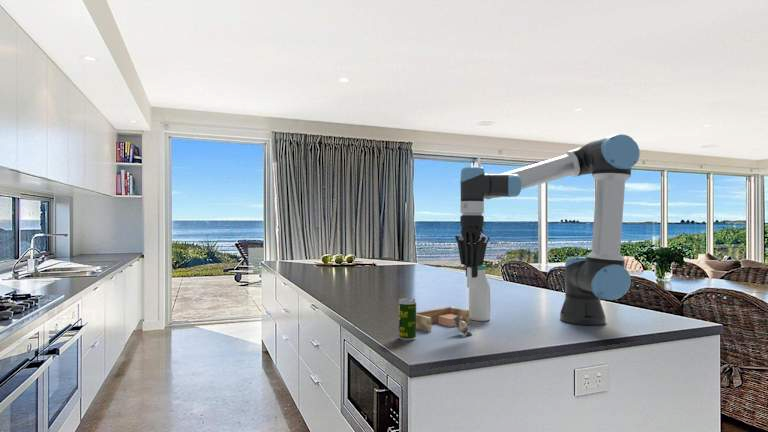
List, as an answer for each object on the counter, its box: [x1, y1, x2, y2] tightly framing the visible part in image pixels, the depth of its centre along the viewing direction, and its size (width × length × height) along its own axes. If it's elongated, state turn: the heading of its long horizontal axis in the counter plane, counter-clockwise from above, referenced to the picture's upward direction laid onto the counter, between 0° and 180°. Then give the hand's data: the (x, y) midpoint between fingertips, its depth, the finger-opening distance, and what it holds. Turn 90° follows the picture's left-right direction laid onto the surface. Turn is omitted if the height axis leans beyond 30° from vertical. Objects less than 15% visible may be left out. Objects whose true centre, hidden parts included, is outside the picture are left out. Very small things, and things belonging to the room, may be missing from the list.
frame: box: [416, 306, 471, 333], centre depth 161 cm, size 9×20×4 cm, turn 129°
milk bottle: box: [468, 264, 491, 322], centre depth 170 cm, size 8×8×20 cm
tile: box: [437, 314, 463, 328], centre depth 162 cm, size 6×6×3 cm
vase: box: [453, 316, 473, 338], centre depth 147 cm, size 5×5×6 cm
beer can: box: [398, 297, 417, 342], centre depth 142 cm, size 5×5×12 cm
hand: (471, 287), depth 150 cm, fingers closed
